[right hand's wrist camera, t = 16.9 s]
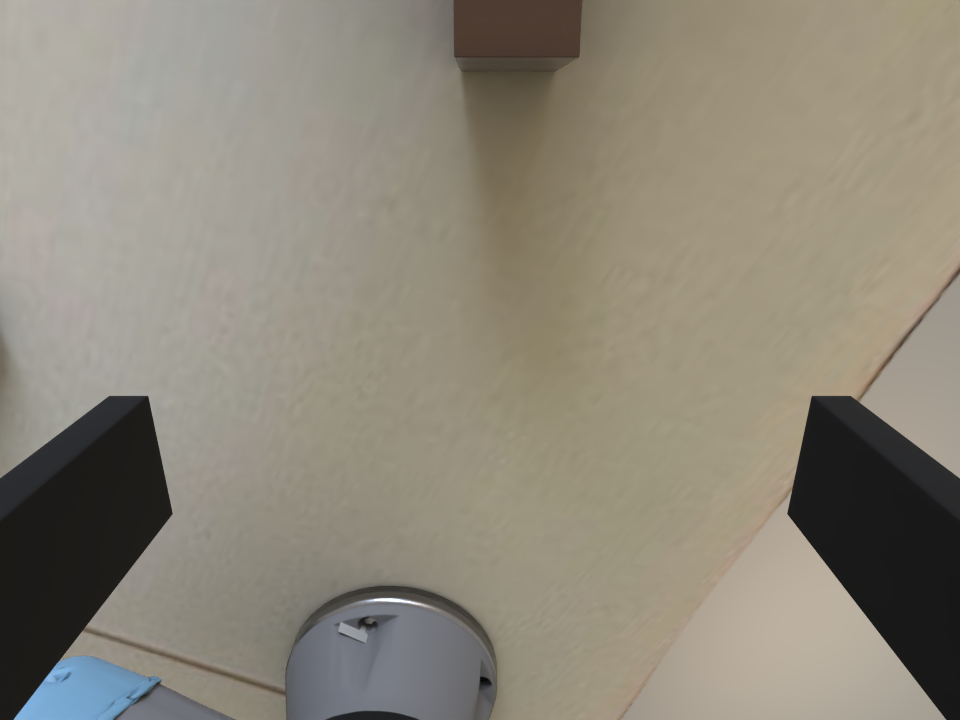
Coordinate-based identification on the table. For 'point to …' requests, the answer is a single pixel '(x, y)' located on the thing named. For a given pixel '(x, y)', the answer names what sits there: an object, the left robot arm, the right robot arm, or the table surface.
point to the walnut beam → (516, 34)
